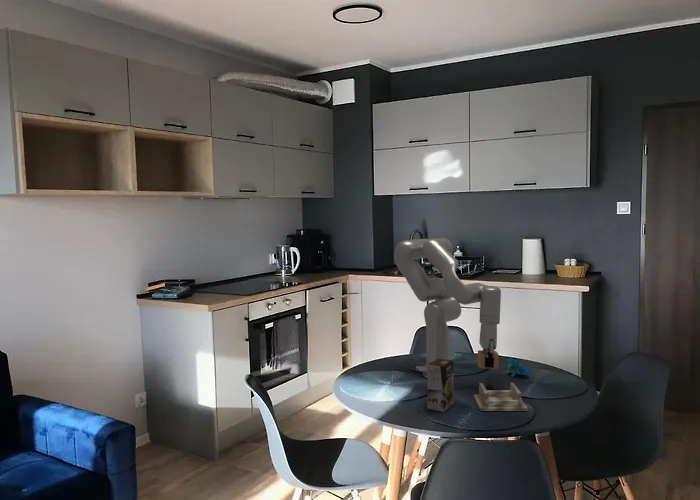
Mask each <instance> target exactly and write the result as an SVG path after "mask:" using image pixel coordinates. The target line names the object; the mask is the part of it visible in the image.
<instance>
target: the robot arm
mask: <svg viewBox="0 0 700 500" xmlns="http://www.w3.org/2000/svg"><path fill="white" fill-rule="evenodd" d="M453 251H454V247H453V243H452V242H451V241H450V240H449V239H448V238H445V237H436V238H433V237H432V238H417V239H405V240H402V241H399V243H397V244H396V246H395V248H394V253H393V260H394V262H395V263H394V264H395V265H396V266H397V269H398V270H399V272H400V273H401V274H402V275H403V277H404V278H405V279H406V282H407V284H408V285H409V288H410V289H411V290H412V292H413V293H414V295H415V296H416V298H417V299H418V301H420V302H428V304H427V305H426V306H425V307H424V310H423V317H424V322H425V328H426V329H425V330H426V331H425V332H426V333H425V334H426V362H425V364H424V365H415V371H416V372H421V373H422V376H423V377H424V378H426V379H428V364H429V363H431V362H432V361H434V360H436V359H447V360H451V349H450V348H451V344H450V343H451V338H450V337H451V335H450V329H449V327H448V324H447V323H448V322H452V321H454V320H457V319H458V318H460V316H461V314H462V306H461V305H471V304H478V303H479V320H478V321H479V323H480V330H479V341H478V342H479V346H480V347H481V348H482V351H486V357H485V367H486V368H485V369H490V368H493V367H494V351H496V350H497V343H498V325H500V323H501V320H500V319H501V303H502V302H501V300H502V299H501V297H502V290H501V288H500V287H498V286H493V285H487V284H485V283H484V284H483V283H480V282H474V283H468V284H467V283H466V284H465V283H464V282H463V281H462V280H461V279H460V278H459V276H458V275H457V273H456V271H457V270H458V268H459V261H458V259H457V258H456V257H455V256H454V255H453ZM420 259H426V260H428V261H429V263H431V265H432V266H433V267H434V268H435V269H436V270H437V271H438V273H440V274H441V275H442V278H440V277H438V276H437V277H436V276H435V277H429V275H427V273H426V271H425V270H424V268H423V267H422V266H421V265H420V264H419V263H417V262H416V261H415V260H420ZM488 351H490V352H488ZM454 377H455V374H454V372H453V378H454Z"/></svg>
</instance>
